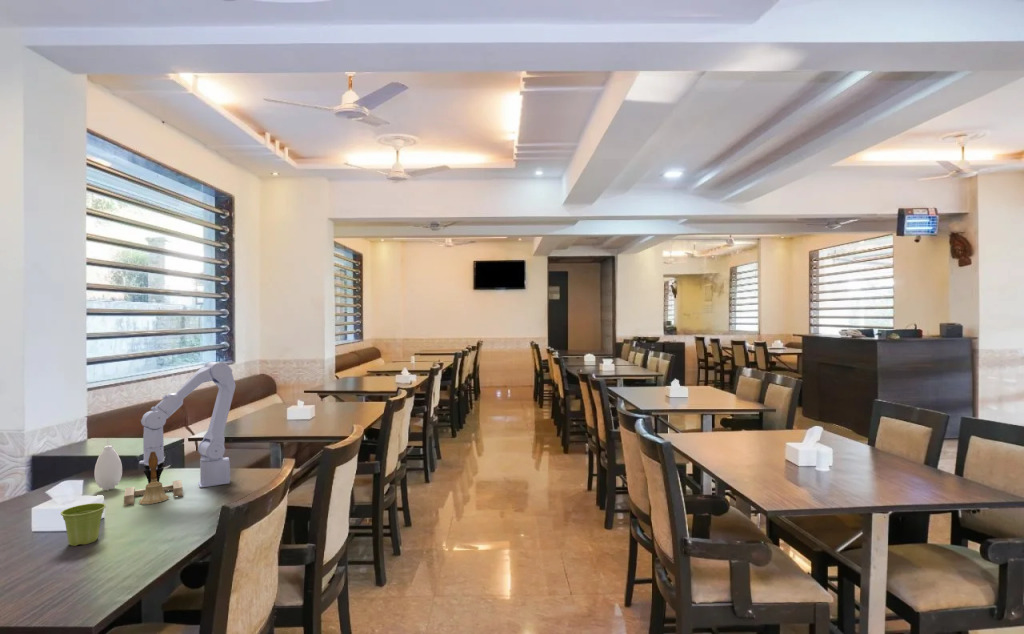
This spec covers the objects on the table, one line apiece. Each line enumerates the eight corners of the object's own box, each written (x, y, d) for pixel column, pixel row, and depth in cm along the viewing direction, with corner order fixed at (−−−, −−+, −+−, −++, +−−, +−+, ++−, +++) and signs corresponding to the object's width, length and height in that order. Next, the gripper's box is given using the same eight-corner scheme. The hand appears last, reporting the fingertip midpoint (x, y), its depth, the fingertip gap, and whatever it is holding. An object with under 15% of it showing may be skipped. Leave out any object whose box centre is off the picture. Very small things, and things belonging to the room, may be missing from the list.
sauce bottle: (90, 491, 192) (90, 439, 192) (116, 485, 198) (115, 435, 199) (100, 494, 188) (100, 441, 188) (126, 488, 194) (125, 437, 195)
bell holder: (181, 488, 193) (181, 479, 193) (182, 496, 183) (182, 487, 183) (125, 497, 184) (125, 488, 184) (124, 505, 174) (124, 496, 174)
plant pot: (114, 536, 147) (114, 504, 147) (76, 550, 138) (76, 516, 139) (90, 533, 150) (90, 501, 151) (52, 546, 141) (51, 512, 142)
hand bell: (158, 504, 175) (158, 454, 175) (132, 505, 175) (132, 455, 175) (174, 496, 183) (174, 448, 183) (149, 497, 183) (149, 449, 183)
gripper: (139, 444, 189) (140, 484, 188) (138, 452, 177) (138, 494, 176) (164, 442, 193) (164, 480, 192) (164, 449, 180) (164, 490, 180)
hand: (153, 487), depth 185 cm, fingers open, 6 cm apart
